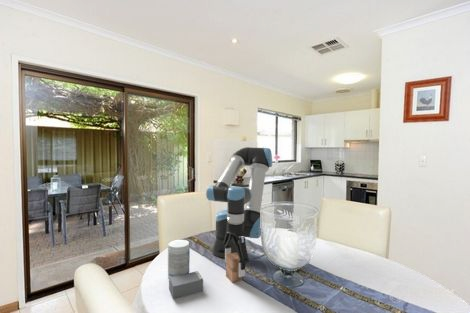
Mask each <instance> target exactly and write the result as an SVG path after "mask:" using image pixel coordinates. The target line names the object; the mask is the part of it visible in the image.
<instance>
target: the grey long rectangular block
mask: <svg viewBox="0 0 470 313" xmlns="http://www.w3.org/2000/svg"><path fill="white" fill-rule="evenodd" d="M168 279H169V280H168V290H169V292H170V295H171V298H172V300H176V299H179V298H184V297H187V296H190V295H194V294H198V293H201V292H203V291H204V278H203V277H202V275H201V274H200V272H199V271H192V272H189V273H187V274H182V275H178V276H173V277H168Z"/></svg>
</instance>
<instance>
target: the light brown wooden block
mask: <svg viewBox="0 0 470 313" xmlns="http://www.w3.org/2000/svg"><path fill="white" fill-rule="evenodd" d="M239 261H240V259H239V255H238V253H237V252H235V253H230V254H227V258H226V263H225V264H226V265H225V266H226V268H225V276H226V278H227V279H228V280H229V281H230V283H237V282H241V281H242V280H243V276H242V277H239Z"/></svg>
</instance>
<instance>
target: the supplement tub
mask: <svg viewBox="0 0 470 313" xmlns="http://www.w3.org/2000/svg"><path fill="white" fill-rule="evenodd" d="M167 245H168V247H167V277H168V278H169V277H173V276H178V275H182V274H187V273H190V259H191V258H190V257H191V256H190V255H191V254H190V253H191V252H190V251H191V249H190V241H188V240H186V239H175V240H172V241H170V242H168V244H167Z"/></svg>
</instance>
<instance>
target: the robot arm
mask: <svg viewBox="0 0 470 313" xmlns="http://www.w3.org/2000/svg"><path fill="white" fill-rule="evenodd" d="M246 166H249V168H250V170H251V171H250V175H249V176H250V177H249V178H250V179H249V182H248V183H249V184H248V187H247V186H233V183H234V182H235V180H236V178H237V176H238V174H239V172H240V170H241V169H243V168H244V167H246ZM271 167H273V154H272V150H271V148H269V147H249V146H248V147H247V146H246V147H242V148H240V149H238V150H237V151H235V152H234V153H232V155H231V157H230V159H229V163H228V164H227V166H226V168H225V169H224V171H223V172H222V173H221V175H220V177H219V179H218V180H217V181H216V183H215V184H214V185H213V184H212V185H209V186H207V188H206V190H205V192H206V193H205V195H206V196H205V197H206V199H207V200H208V201H211V202H219V203H220V202H221V203H227V208H226V209H224V210H220V211H218V212H217V213H216V216H215V237H214V238H215V239H214V242H213V244H212V246H211V247H212V248H211V253H212V255H214V256H215V257H218V258H223V259H224V263H225V264H226V258H227V254H230V253H235V252H237V253H238V255H239V259H240V261H239V277H242V278H243V277H245V276H246V263H248V262H250V261H249V260H250V259H249V256H248V255H249V254H248V248H247V243H246V238H250V239H260V238H261V236H262V235H261V228H260V211H261V208H262V201H263V195H264V194H263V193H264V187H265V180H266V174H267V172H268V171H269V169H270V168H271Z"/></svg>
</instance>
